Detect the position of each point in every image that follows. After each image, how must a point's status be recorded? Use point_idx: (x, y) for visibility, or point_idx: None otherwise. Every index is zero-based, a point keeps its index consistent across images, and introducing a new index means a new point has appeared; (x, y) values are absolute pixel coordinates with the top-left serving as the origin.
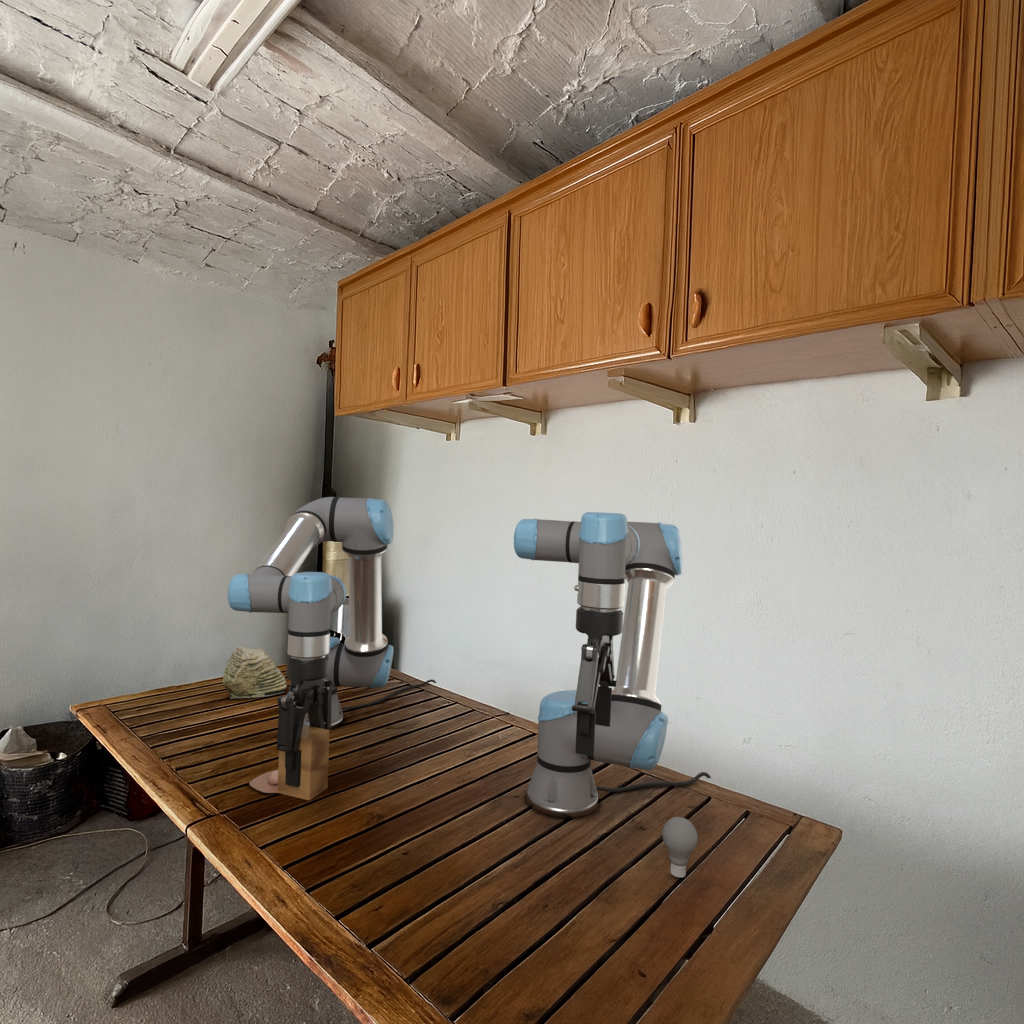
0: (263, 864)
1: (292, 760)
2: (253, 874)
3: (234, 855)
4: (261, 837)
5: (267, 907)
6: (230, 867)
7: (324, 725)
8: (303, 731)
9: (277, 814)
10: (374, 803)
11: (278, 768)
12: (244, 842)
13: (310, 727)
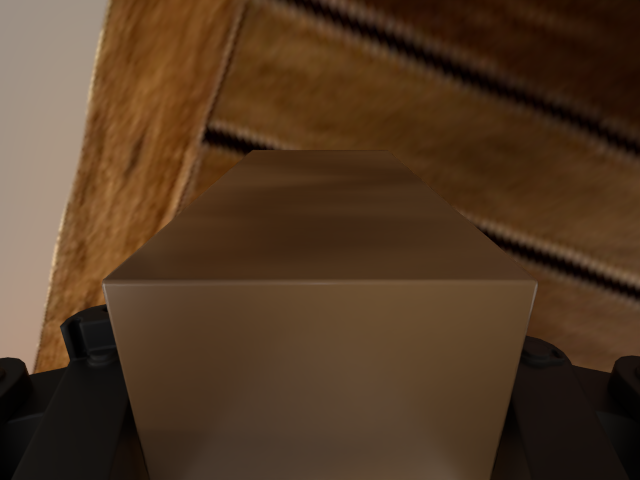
0: (152, 197)
1: None
2: (108, 204)
3: (137, 90)
4: (249, 93)
5: (50, 310)
6: (92, 126)
7: (626, 469)
8: (316, 466)
9: (390, 33)
10: (544, 274)
11: (225, 174)
12: (202, 63)
13: (458, 464)
